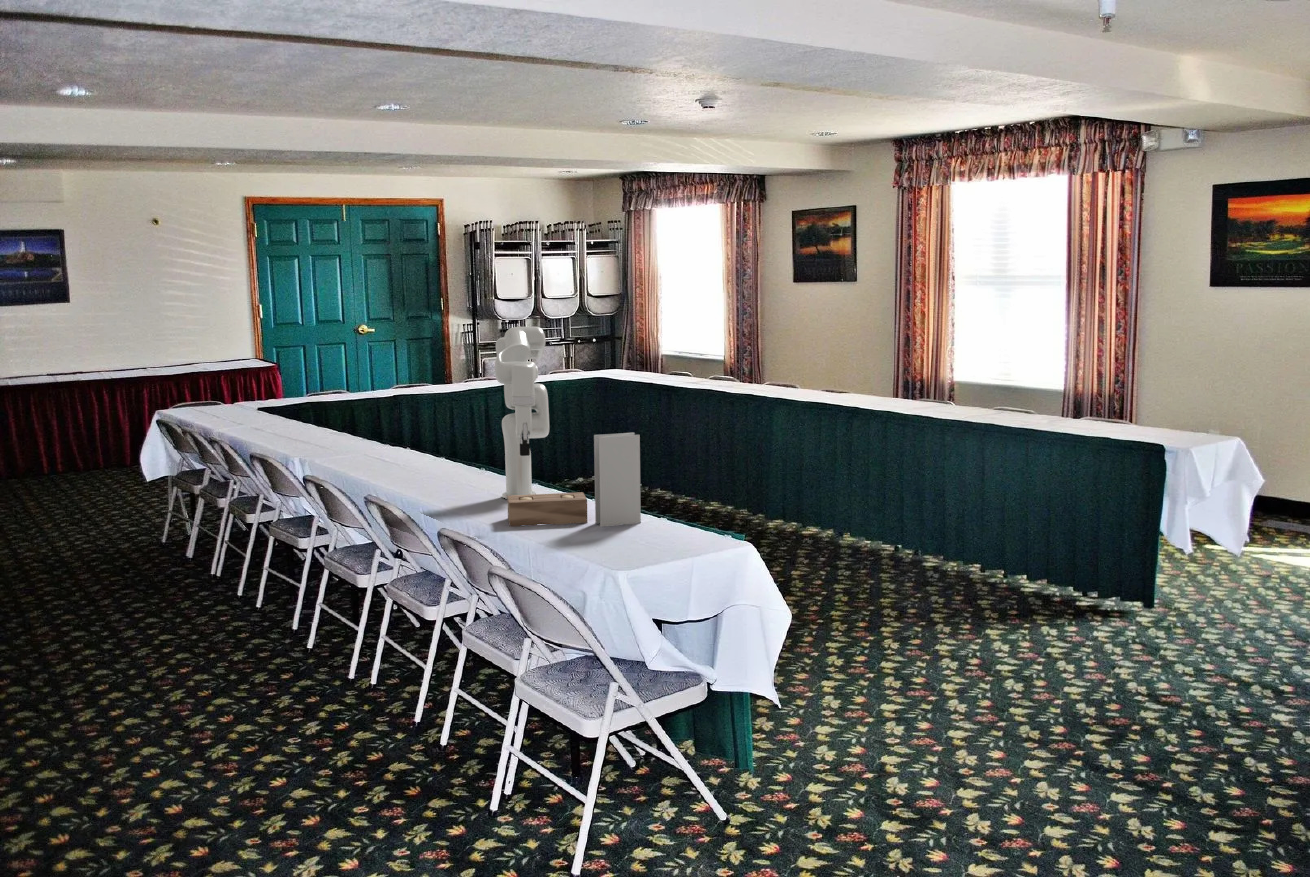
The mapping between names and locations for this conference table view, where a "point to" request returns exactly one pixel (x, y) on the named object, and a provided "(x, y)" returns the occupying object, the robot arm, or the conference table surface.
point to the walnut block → (547, 509)
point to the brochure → (617, 479)
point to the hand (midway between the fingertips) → (524, 455)
